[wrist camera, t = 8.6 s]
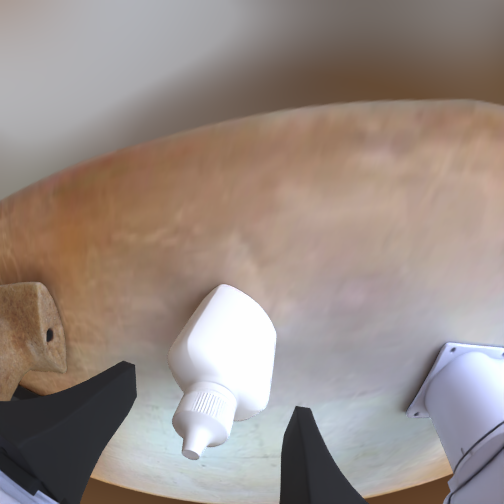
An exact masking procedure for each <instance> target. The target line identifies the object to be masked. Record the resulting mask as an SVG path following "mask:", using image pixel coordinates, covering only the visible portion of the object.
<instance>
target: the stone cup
mask: <svg viewBox="0 0 504 504" xmlns="http://www.w3.org/2000/svg"><path fill="white" fill-rule="evenodd" d="M30 370H32V371H43V372H57V373H65V372H66V370H67V362H66V346H65V337H64V331H63V326H62V324H61V320H60V316H59V314H58V310H57V308H56V305H55V304H54V300H53V299H52V297H51V295H50V293H49V291H48V289H47V288H46V287H45V286H44V285H43V284H42V283H40V282H20V283H13V284H6V285H0V401H10V400H11V398H12V395H13V393H14V391H15V390H16V388H17V386H18V384H19V382H20V380H21V379H22V377H23V376H24V374H26V373H27V372H28V371H30Z"/></svg>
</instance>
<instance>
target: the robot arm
mask: <svg viewBox="0 0 504 504" xmlns="http://www.w3.org/2000/svg"><path fill="white" fill-rule="evenodd" d="M452 348H453V349H452ZM451 349H452V350H451ZM136 397H137V391H136V374H135V365H134V364H131V363H128V362H126V361H122V362H120V363H118V364H116V365H115V366H113V367H111V368H109V369H107V370H106V371H104V372H102V373H100V374H98V375H96V376H94V377H92V378H90V379H89V380H87V381H84V382H82V383H80V384H78V385H76V386H73V387H71V388H68V389H66V390H63V391H60V392H57V393H54V394H50V395H46V396H42V397H37V398H32V399H26V400H16V401H0V504H80V501H81V498H82V495H83V492H84V490H85V487H86V485H87V482H88V480H89V478H90V476H91V473H92V471H93V469H94V467H95V465H96V463H97V461H98V459H99V457H100V455H101V453H102V451H103V450H104V448H105V446H106V445H107V443H108V442H109V440H110V439H111V438H112V436H113V435H114V433H115V432H116V431H117V429H118V428H119V426H120V425H121V423H122V422H123V420H124V419H125V418H126V416H127V415H128V413H129V411H130V409H131V407H132V405H133V403H134V401H135V399H136ZM416 412H417V413H416ZM406 415H407V417H409V418H431V420H432V422H433V425H434V427H435V429H436V431H437V434H438V436H439V438H440V441H441V443H442V446H443V448H444V450H445V453H446V455H447V458H448V460H449V463H450V465H451V468H452V471H453V473H454V476H453V477H452V478H451V479H450V480H449V481H448V485H449V488H450V491H451V492H450V493H449V494H448V495H447V497H446V498H445V500H444V503H443V504H504V348H500V347H489V346H478V345H468V344H459V343H450V342H449V343H446V344H445V345H444V346H443V347H442V349H441V351H440V353H439V355H438V357H437V359H436V361H435V363H434V365H433V367H432V369H431V371H430V373H429V375H428V376H427V378H426V380H425V382H424V384H423V385H422V387H421V389H420V391H419V392H418V394H417V396H416V397H415V399H414V401H413V402H412V404H411V406H410V407H409V409H408V410H407V412H406ZM280 504H369V503H367V502H366V501H365V500H364V499H363V498H362V496H361V495H360V494H359V493H358V492H357V491H356V490H355V489H354V488H353V487H352V485H351V484H350V483H349V482H348V480H347V479H346V478H345V476H344V475H343V474H342V472H341V471H340V469H339V468H338V466H337V465H336V463H335V461H334V460H333V458H332V456H331V454H330V453H329V451H328V449H327V447H326V445H325V443H324V441H323V439H322V436H321V434H320V432H319V430H318V427H317V425H316V422H315V420H314V417H313V414H312V411H311V409H310V408H305V407H299V406H296V407H295V409H294V412H293V414H292V417H291V419H290V422H289V424H288V426H287V429H286V431H285V434H284V438H283V445H282V452H281V491H280Z"/></svg>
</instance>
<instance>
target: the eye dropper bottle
mask: <svg viewBox="0 0 504 504" xmlns="http://www.w3.org/2000/svg"><path fill="white" fill-rule="evenodd" d="M275 347H276V332H275V329H274V327H273V324H272V322H271V321H270V319H269V317H268V316H267V314H266V313H265V311H264V310H263V309H262V308H261V307H260V306H259V305H258V304H257V303H256V302H255V301H254V300H253V299H252V298H250V297H249V296H248V295H246V294H245V293H243V292H242V291H240V290H238V289H236V288H234V287H232V286H229V285H225V284H221V285H219V286H217V287H216V288H215V289H213V290H212V291H211V292H210V293H209V294H208V295H207V296H206V297H205V298H204V299H203V300H202V302H201V303H200V305H199V306H198V308H197V309H196V310H195V312H194V313H193V315H192V316H191V318H190V319H189V321H188V322H187V324H186V325H185V327H184V328H183V329H182V331H181V332H180V334H179V335H178V337H177V338H176V340H175V342H174V343H173V345H172V346H171V348H170V350H169V352H168V355H167V361H168V365H169V368H170V370H171V372H172V374H173V376H174V378H175V380H176V382H177V384H178V385H179V387H180V388H181V390H182V391H183V392H184V395H183V397H182V399H181V401H180V403H179V406H178V408H177V410H176V412H175V414H174V416H173V419H172V424H173V427H174V429H175V431H176V432H177V433H178V434H179V435H180V436H181V437H182V438H183V446H182V454H183V456H185V457H186V458H188V459H191V460H197V459H199V458H200V456H201V455H202V453H203V452H204V450H205V448H206V447H215V446H219V445H222V444H224V443H225V442H226V441H227V440H228V438H229V435H230V431H231V427H232V423H233V421H244V420H247V419H249V418H251V417H253V416H255V415H257V414H258V413H260V412H261V411H263V410H264V408H265V407H266V406H267V403H268V400H269V394H270V388H271V380H272V373H273V365H274V356H275Z"/></svg>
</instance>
